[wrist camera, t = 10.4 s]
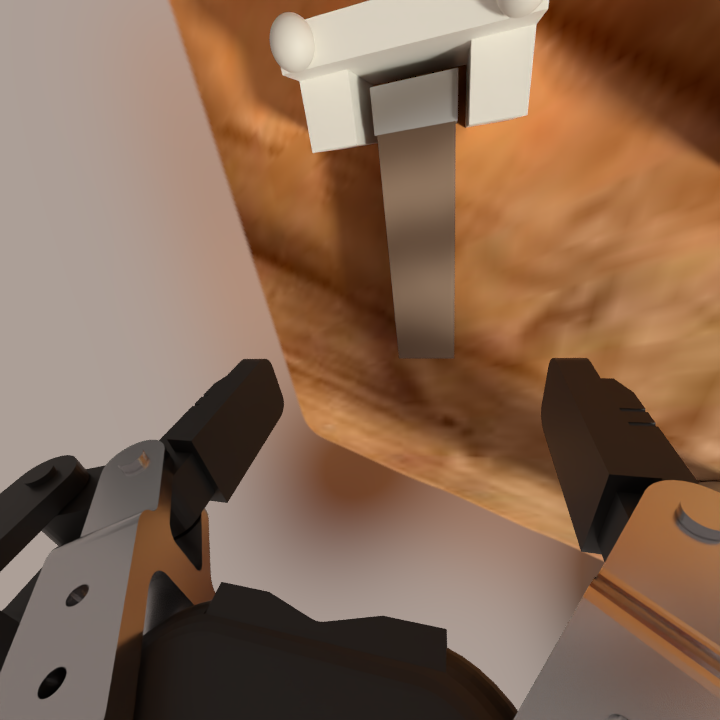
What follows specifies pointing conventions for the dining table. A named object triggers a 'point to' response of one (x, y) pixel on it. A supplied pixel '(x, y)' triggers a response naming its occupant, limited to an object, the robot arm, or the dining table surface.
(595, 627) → the robot arm
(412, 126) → the rail
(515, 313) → the dining table surface
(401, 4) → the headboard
